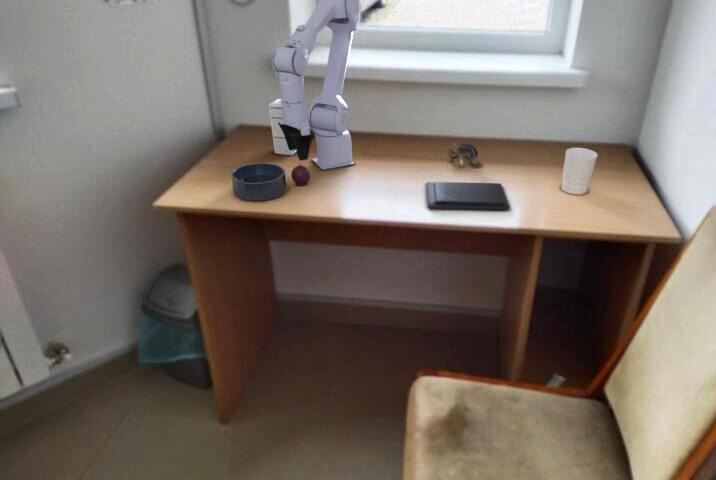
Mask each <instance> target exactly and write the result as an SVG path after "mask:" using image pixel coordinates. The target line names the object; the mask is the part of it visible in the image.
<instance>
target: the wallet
mask: <svg viewBox="0 0 716 480" xmlns="http://www.w3.org/2000/svg"><path fill="white" fill-rule="evenodd" d="M426 198H427V208H428V209H429V210H438V211H439V210H440V211H486V212H487V211H491V212H492V211H493V212H506V211H508V210H509V209H510V205H509V204H510V203H509V201H508V199H507V196H506V194H505V191H504V189H503V186H502V183H499V182H497V183H496V182H467V181H465V182H463V181H426Z"/></svg>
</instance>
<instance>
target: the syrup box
mask: <svg viewBox="0 0 716 480" xmlns="http://www.w3.org/2000/svg"><path fill="white" fill-rule="evenodd" d="M268 111H269V118H270V126H271V127H270V128H271V134H272V140H273V141H272V144H273V150H274V151H273V152H274V154H277V155H285V156H293V155H295V154H296V153H297V150H289V148H288V146H287V142H286V139H285V136H284V134H283V131H282V129H281V128H280V126H279V125H278V123H279V119H282V103H281V98H276V99H275V100H274V101H272V102H271V103H269V104H268Z"/></svg>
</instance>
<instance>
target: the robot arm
mask: <svg viewBox="0 0 716 480" xmlns="http://www.w3.org/2000/svg"><path fill="white" fill-rule="evenodd" d="M361 9H362V6H361V2H360V0H315V8H314V9H313V12H312V13H311V14H310V16H309V18H308V20H307V22H306V23H305V24H300V25H298V26H297V27H296V28H295V31H294V32H293V33H292V34H291V36H290V37H289V39H288V40H287V41H286V43H284V45H283V46H278V48H276V49H275V50H274V51H273V54H272V61H271V66H272V69H273V71H274V72H275V76H276V77H275V78H276V80H277V81H278V83H279V91H280V93H279V94H280V99H281V103H282V119H279V123H278V125H279V126H280V128H281V129H282V131H283V134H284V136H285V139H286V142H287V146H288V148H289V150H297V151H296V154H297V158H298V160H299V161H307V160H309V155H310V150H311V145H312V142H313V140H314V138H315V144H316V157H314V158H312V162H314V163H315V164H316V165H317V166H318V167H319V168H320V170H329V169H334V168H340V167H345V166H346V167H347V166H351V165H354V161H353V142H352V136H351V133H350V131H349V130H347V129H348V125H349V109H350V107H349V106H348V105H347V103H346V102H345V101H344V99H343V98H342V94H343V89H344V83H345V79H346V72H347V69H348V68H347V67H348V64H349V63H348V62H349V57H350V50H351V46H352V40H353V35H354V32H355V31H356V30H358V25H359V20H360V15H361V11H362V10H361ZM325 27H327V28H328V29H330V30H331V33H332V36H331V42H330V46H329V52H328V58H327V63H326V69H325V74H324V80H323V86H322V91H321V93H320V94H319V95H317V96H316V97H315V98H313V99H312V103H311V106H310V108H309V110H308V112H307V103H306V90H305V78H304V74H305V73H306V72H307V69H308V65H309V61H310V56H311V54H312V52H313V51H314V49H315V48H316V47H317V45H318V44H319V40H320V39H319V34H320V33H321V32H322V31H323V30H324V28H325ZM310 128H311V129H312V130H311V129H310Z"/></svg>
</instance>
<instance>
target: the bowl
mask: <svg viewBox="0 0 716 480" xmlns="http://www.w3.org/2000/svg"><path fill="white" fill-rule="evenodd" d="M286 177H287V176H286V170H285V169H284V167H283V166H280V165H278V164H275V163H269V162H254V163H248V164H244V165H241V166H238V167H237V168H235V169H233V170H232V171H231V172H230V180H231V186H232V191H233V194H234V195H235V197H238V198H240V199H242V200H245V201H266V200H271V199H275V198H277V197H280V196H281V195H283V194H285V192H286V191H287V189H288V188H287V187H288V185H287V178H286Z"/></svg>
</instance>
